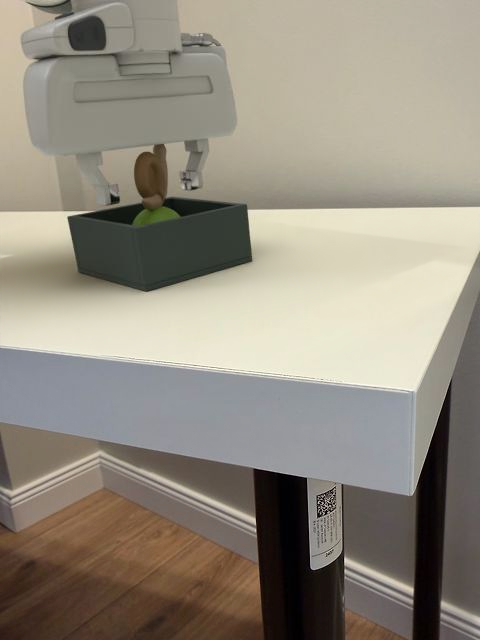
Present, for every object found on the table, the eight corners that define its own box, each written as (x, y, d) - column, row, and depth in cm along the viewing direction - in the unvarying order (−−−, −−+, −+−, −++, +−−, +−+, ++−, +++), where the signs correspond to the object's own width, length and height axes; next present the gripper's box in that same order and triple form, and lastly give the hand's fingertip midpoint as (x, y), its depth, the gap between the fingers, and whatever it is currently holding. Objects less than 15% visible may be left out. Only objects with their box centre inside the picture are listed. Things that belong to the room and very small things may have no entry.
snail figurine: (201, 253, 67) (186, 128, 62) (179, 269, 61) (160, 133, 56) (152, 254, 68) (133, 131, 63) (126, 270, 63) (103, 136, 58)
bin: (78, 272, 65) (66, 216, 63) (179, 247, 73) (172, 196, 71) (146, 291, 57) (135, 228, 55) (252, 260, 65) (247, 204, 62)
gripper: (202, 36, 65) (217, 180, 71) (0, 36, 53) (37, 211, 58) (243, 29, 61) (255, 183, 67) (34, 27, 48) (71, 217, 54)
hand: (152, 196), depth 62 cm, fingers open, 8 cm apart
